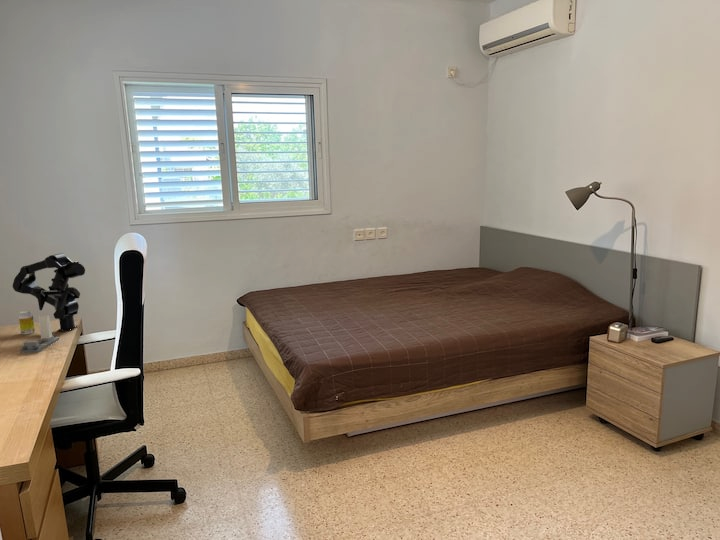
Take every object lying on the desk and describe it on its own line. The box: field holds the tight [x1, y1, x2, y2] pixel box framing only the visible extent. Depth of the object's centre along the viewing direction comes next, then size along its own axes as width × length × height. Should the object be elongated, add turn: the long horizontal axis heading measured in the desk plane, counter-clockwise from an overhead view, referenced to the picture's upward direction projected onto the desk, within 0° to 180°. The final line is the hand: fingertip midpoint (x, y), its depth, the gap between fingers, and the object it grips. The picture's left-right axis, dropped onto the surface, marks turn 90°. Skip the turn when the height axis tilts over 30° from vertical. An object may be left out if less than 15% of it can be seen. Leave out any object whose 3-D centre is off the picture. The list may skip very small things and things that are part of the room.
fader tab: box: [38, 314, 55, 341], centre depth 216 cm, size 4×4×10 cm
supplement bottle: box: [17, 309, 36, 335], centre depth 231 cm, size 6×6×10 cm
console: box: [19, 336, 60, 354], centre depth 212 cm, size 16×7×4 cm, turn 2°
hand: (50, 309), depth 221 cm, fingers open, 8 cm apart
